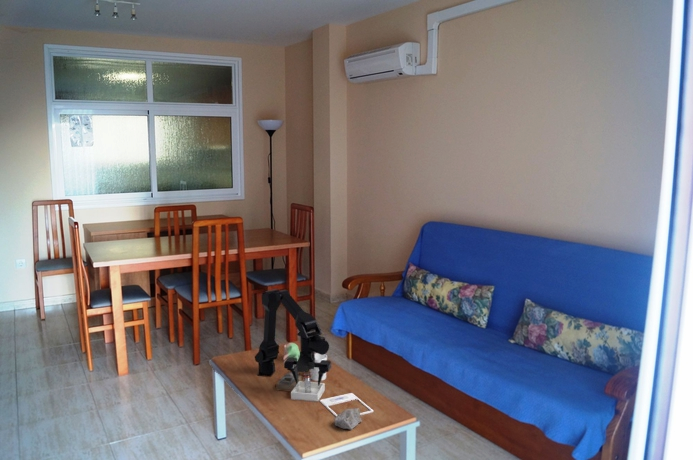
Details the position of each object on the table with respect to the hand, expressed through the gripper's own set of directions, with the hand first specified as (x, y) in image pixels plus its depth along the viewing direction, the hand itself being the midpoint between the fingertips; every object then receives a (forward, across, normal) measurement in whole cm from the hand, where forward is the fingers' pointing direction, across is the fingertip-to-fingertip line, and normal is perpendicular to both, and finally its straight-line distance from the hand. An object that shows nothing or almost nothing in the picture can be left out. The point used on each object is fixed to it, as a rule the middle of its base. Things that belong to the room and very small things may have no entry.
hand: (308, 384), depth 231 cm
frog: (+5, -17, +33) cm, 38 cm away
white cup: (+5, 0, +17) cm, 18 cm away
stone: (+5, +22, -21) cm, 31 cm away
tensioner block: (+4, -10, +7) cm, 13 cm away
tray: (+4, 0, 0) cm, 4 cm away
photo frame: (+5, +18, -7) cm, 20 cm away
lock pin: (+4, 0, 0) cm, 4 cm away
